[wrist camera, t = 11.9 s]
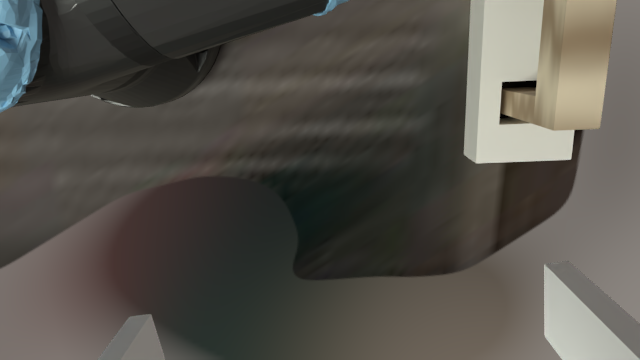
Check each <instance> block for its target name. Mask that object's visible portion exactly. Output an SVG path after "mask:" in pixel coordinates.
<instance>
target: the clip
mask: <svg viewBox="0 0 640 360" xmlns="http://www.w3.org/2000/svg"><path fill="white" fill-rule="evenodd" d="M616 2H617V0H544V6H543V17H542V28H541V40H540V51H539V62H538V74H537V85H536V88H533V87H516V88H502V90H501V105H500V113H501V114H504V115H507V116H510V117H513V118H516V119H519V120H522V121H526V122H529V123H532V124H535V125H538V126H541V127H544V128H547V129H550V130H553V131H558V130H582V129H600V123H601V116H602V108H603V100H604V93H605V86H606V77H607V71H608V63H609V55H610V47H611V40H612V33H613V25H614V17H615V9H616Z"/></svg>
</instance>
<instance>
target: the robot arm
mask: <svg viewBox="0 0 640 360" xmlns="http://www.w3.org/2000/svg"><path fill="white" fill-rule="evenodd" d="M347 1H349V0H0V112H2V111H4V110H6V109H8V108H10V107H15V106H22V105H28V104H34V103H41V102H47V101H54V100H61V99H67V98H74V97H80V96H87V95H91V96H93V97H95V98H97V99H100V100H102V101H105V102H107V103H110V104H114V105H118V106H124V107H135V108H139V107H151V106H156V105H160V104H164V103H167V102H170V101H173V100H176V99H178V98H180V97H182V96H184V95H185V94H187V93H189V92H190V91H191V90H193V89H194V88H195V87H196V86H197V85H198V84H199V83H200V82H201V81H202V80H203V79H204V78H205V76H206V75H207V74H208V72H209V71H210V69H211V67H212V66H213V64H214V61H215V59H216V57H217V54H218V51H219V48H220V45H221V44H224V43H228V42H231V41H234V40H237V39H240V38H243V37H246V36H249V35H252V34H255V33H258V32H261V31H264V30H267V29H270V28H273V27H276V26H279V25H283V24H286V23H289V22H292V21H295V20H298V19H301V18H304V17H307V16H310V15H314V16H321V15H325V14H326V13H327V12H329V11H332V10H333V9H334V8H335V7H336V5H339V4H341V3H344V2H347ZM544 299H545V300H544V313H545V314H544V316H545V319H544V320H545V337H546V339H547V340H548V341H549V343H550V344H551V345H552V347H553V348H554V349H555V351H556V352H557V353H558V354H559V356H560V357H561V359H562V360H640V324H639V323H638V322H637V321H636V320H635V319H634V318H633V317H632V316H630V315H629V314H628V313H627V312H626V311H625V310H624V309H622V308H621V307H620V306H619V305H618V304H617V303H616V302H615V301H613V300H612V299H611V298H610V297H609V296H608V295H607V294H605V293H604V292H603V291H602V290H601V289H600V288H599V287H598V286H597V285H595V284H594V283H593V282H592V281H591V280H590V279H589V278H587V277H586V276H585V275H584V274H583V273H582V272H581V271H580V270H578V269H577V268H576V267H575V266H574V265H573V264H572V263H571V262H569V261H563V262H556V263H548V264H544ZM98 360H165V357H164V354H163V351H162V348H161V345H160V341H159V338H158V335H157V332H156V328H155V325H154V322H153V319H152V316H151V314H147V315H139V316H131V317H129V318H128V319H127V321H126V322H125V323H124V325H123V326H122V327H121V329H120V330H119V332H118V333H117V334H116V335H115V337H114V338H113V340H112V341H111V342H110V344H109V345H108V346H107V348H106V349H105V350H104V352H103V353H102V355H101V356H100V357H99V358H98Z"/></svg>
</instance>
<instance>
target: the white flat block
mask: <svg viewBox="0 0 640 360" xmlns="http://www.w3.org/2000/svg"><path fill="white" fill-rule="evenodd" d="M543 6H544V0H471V8H470V30H469V52H468V74H467V96H466V118H465V140H464V155H465V156H467V157H468V158H469V159H471V160H472V161H473V162H475V163H499V162H524V161H549V160H571V156H572V147H573V139H574V130H558V131H553V130H550V129H547V128H544V127H541V126H538V125H535V124H532V123H529V122H526V121H522V120H519V119H516V118H500V105H501V90H502V82H512V81H533V80H537V74H538V62H539V51H540V40H541V28H542V17H543Z"/></svg>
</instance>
